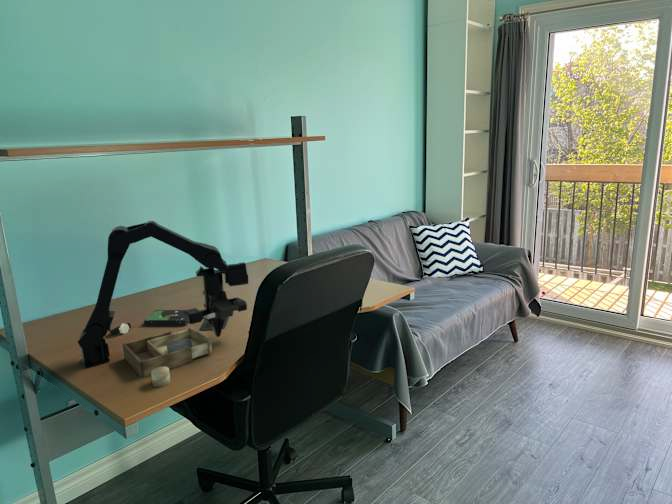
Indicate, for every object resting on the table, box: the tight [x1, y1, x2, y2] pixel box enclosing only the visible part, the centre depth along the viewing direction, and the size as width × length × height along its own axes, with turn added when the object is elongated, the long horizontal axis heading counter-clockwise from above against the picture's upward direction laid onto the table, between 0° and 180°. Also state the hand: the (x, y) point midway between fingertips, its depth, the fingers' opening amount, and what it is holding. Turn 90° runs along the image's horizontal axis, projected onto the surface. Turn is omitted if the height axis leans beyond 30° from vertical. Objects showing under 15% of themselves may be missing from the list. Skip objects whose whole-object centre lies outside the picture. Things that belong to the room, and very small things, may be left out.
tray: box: [147, 326, 213, 359], centre depth 147 cm, size 15×15×4 cm
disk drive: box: [143, 309, 189, 327], centre depth 174 cm, size 10×3×15 cm
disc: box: [167, 339, 192, 353], centre depth 147 cm, size 7×7×2 cm
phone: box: [200, 317, 230, 331], centre depth 172 cm, size 8×1×15 cm
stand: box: [151, 366, 171, 388], centre depth 130 cm, size 4×4×4 cm
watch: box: [109, 322, 132, 337], centre depth 165 cm, size 8×5×4 cm, turn 158°
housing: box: [122, 331, 194, 379], centre depth 143 cm, size 14×16×4 cm
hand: (218, 336), depth 154 cm, fingers closed
